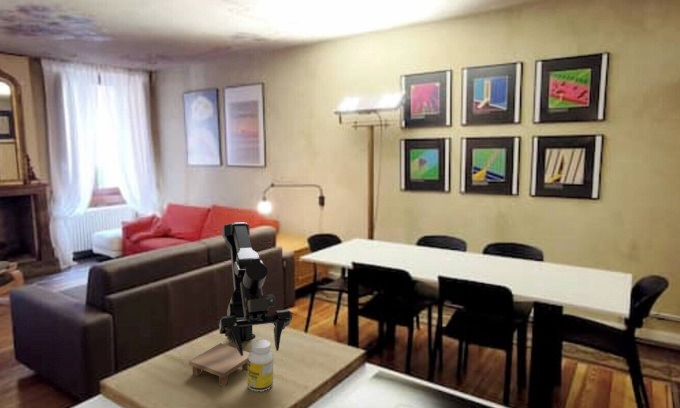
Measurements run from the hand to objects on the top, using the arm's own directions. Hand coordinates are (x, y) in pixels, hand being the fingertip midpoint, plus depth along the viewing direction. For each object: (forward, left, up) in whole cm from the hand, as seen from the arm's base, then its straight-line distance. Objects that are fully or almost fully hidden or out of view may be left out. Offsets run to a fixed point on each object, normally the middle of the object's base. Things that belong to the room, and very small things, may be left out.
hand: (260, 352), depth 116 cm
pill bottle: (+1, -1, -9) cm, 9 cm away
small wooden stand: (-12, -3, -8) cm, 15 cm away
